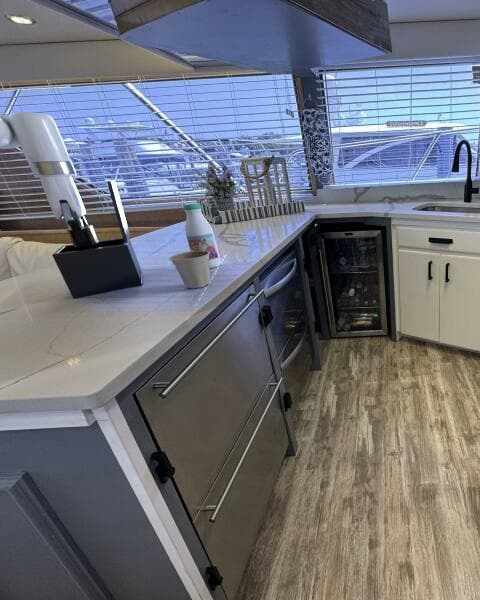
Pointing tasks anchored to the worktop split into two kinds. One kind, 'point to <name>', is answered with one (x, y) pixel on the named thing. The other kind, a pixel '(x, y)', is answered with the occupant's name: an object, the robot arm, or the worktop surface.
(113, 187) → the bin lid
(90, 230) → the block
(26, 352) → the worktop surface
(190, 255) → the flower pot
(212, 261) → the milk bottle
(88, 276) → the bin
